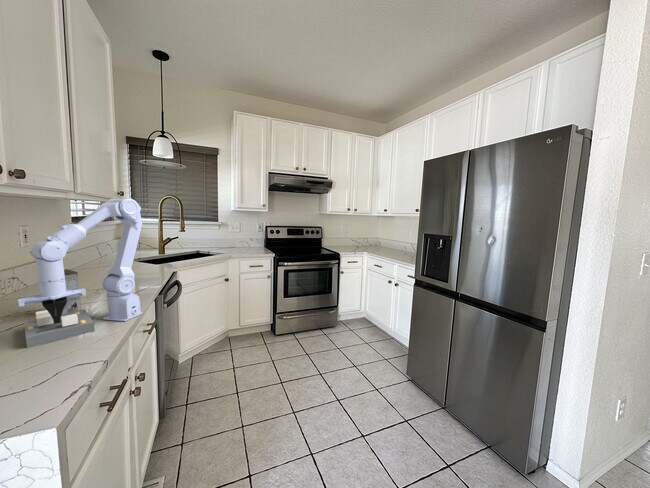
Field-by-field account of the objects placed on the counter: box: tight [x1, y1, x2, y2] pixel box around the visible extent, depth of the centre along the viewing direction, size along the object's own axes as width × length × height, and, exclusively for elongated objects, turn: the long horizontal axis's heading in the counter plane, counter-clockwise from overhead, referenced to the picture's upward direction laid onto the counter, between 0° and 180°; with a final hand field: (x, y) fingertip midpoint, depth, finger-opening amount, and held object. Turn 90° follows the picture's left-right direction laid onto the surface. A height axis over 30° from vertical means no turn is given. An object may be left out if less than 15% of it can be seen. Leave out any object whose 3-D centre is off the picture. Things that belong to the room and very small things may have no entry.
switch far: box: [35, 309, 49, 320], centre depth 89 cm, size 4×3×2 cm
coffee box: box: [53, 268, 82, 314], centre depth 102 cm, size 9×6×16 cm
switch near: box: [61, 314, 78, 327], centre depth 86 cm, size 4×3×2 cm
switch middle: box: [37, 314, 54, 327], centre depth 85 cm, size 4×3×2 cm
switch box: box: [23, 309, 96, 349], centre depth 88 cm, size 15×17×3 cm
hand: (57, 322), depth 83 cm, fingers closed
